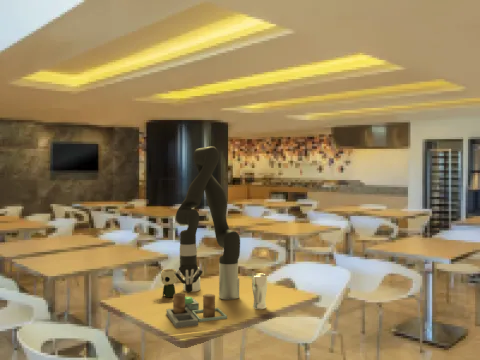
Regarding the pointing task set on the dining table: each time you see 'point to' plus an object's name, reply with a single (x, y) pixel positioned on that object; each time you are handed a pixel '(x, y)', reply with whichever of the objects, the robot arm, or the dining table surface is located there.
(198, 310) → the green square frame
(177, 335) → the dining table surface
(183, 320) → the grey shallow tray
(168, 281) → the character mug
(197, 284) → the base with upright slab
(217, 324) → the dining table surface
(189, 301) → the button
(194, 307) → the console
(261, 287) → the beer glass
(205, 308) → the cylinder
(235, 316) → the dining table surface
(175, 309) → the cylinder
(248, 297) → the dining table surface
